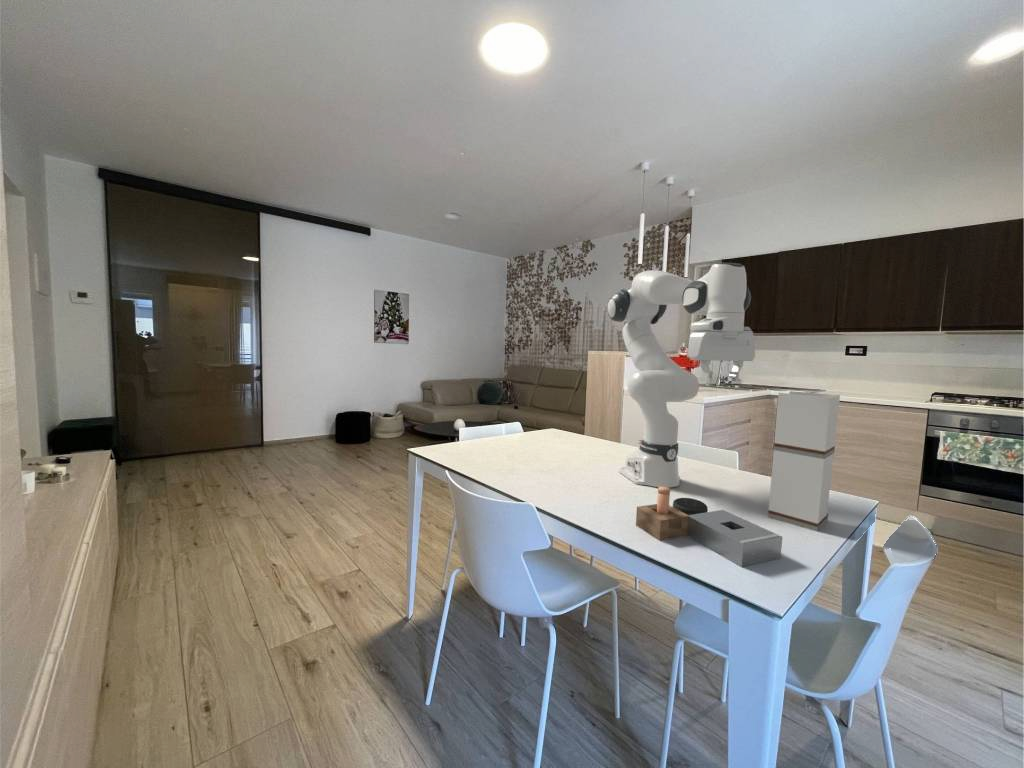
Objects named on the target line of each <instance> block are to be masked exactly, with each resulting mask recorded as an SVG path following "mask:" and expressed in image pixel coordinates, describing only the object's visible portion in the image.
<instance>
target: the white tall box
mask: <svg viewBox="0 0 1024 768" xmlns="http://www.w3.org/2000/svg"><path fill="white" fill-rule="evenodd" d="M840 398H841V396H840V395H839V394H829V393H817V392H816V393H815V392H806V391H805V392H804V391H795V390H790V391H789V393H783V392H779V393H778V395H777V405H776V406H777V409H776V418H775V419H776V420H775V431H774V443H773V455H772V465H771V476H770V477H771V479H770V488H769V489H770V490H769V501H768V511H767V518H769V519H774V520H777V521H781V522H784V523H787V524H790V525H794V526H798V527H801V528H804V529H808V530H811V531H814V532H818V531H819V530H820V529H822V527H823V526H824V525H825V524H826V523H827V522H828V521H829V520H828V519H829V513H828V508H829V499H830V490H831V488H830V487H831V477H832V470H833V468H832V467H833V459H834V456H835V446H836V440H837V439H836V437H837V427H838V419H839V418H838V417H839V410H840V409H839V408H840V400H841V399H840Z"/></svg>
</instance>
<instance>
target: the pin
mask: <svg viewBox="0 0 1024 768" xmlns="http://www.w3.org/2000/svg"><path fill="white" fill-rule="evenodd" d="M657 488H658V489H657V503H656V504H657V513H659V514H661V515H667V514H669V505H670V499H671V498H670V494H671V487H669V488H668V487H657Z"/></svg>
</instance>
